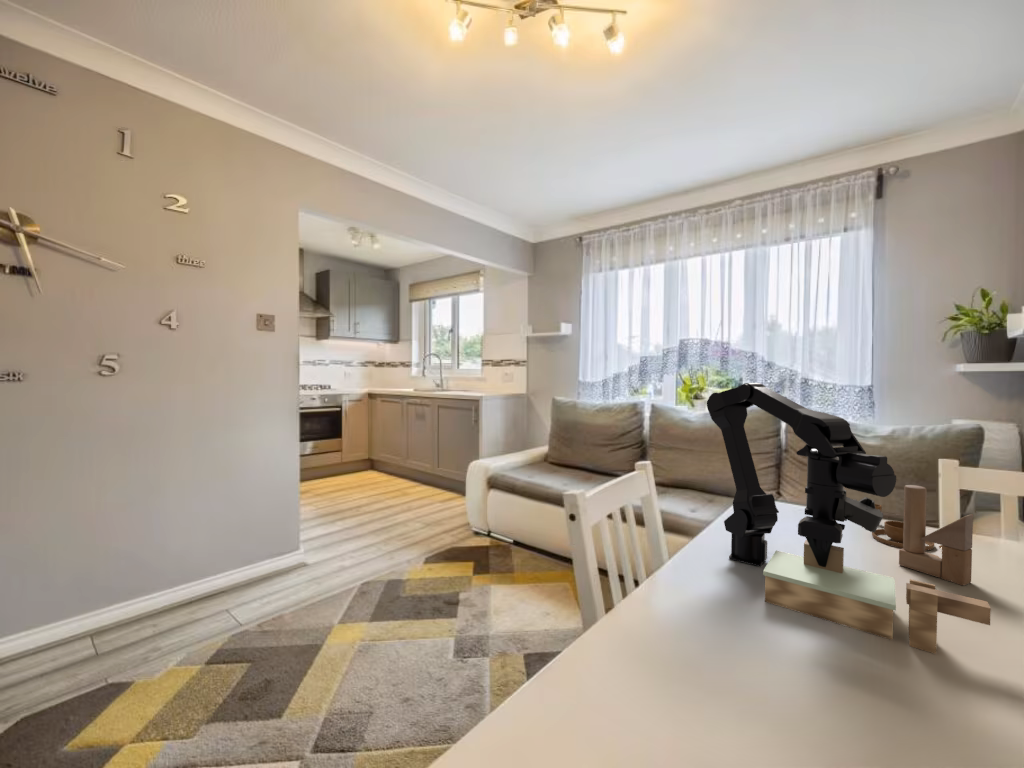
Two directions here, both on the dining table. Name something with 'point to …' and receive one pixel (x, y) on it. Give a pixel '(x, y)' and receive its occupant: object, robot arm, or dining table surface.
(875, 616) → the tan wooden box
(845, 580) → the lid
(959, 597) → the wooden plank
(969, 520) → the wooden block structure
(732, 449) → the robot arm
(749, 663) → the dining table surface
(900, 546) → the place setting
